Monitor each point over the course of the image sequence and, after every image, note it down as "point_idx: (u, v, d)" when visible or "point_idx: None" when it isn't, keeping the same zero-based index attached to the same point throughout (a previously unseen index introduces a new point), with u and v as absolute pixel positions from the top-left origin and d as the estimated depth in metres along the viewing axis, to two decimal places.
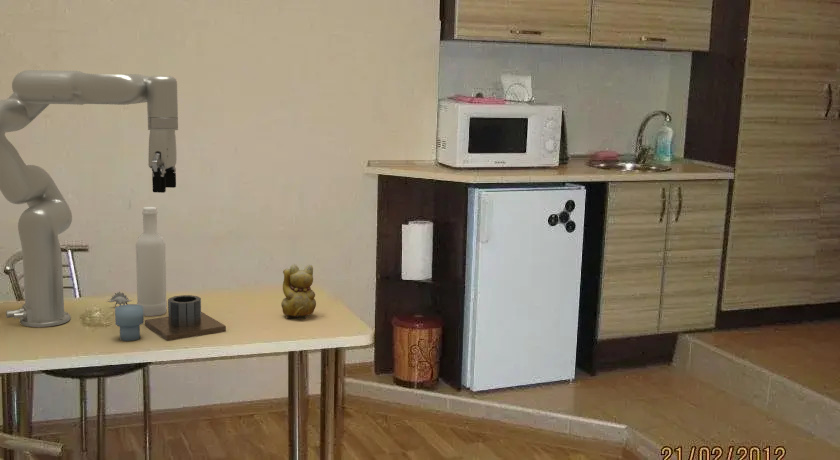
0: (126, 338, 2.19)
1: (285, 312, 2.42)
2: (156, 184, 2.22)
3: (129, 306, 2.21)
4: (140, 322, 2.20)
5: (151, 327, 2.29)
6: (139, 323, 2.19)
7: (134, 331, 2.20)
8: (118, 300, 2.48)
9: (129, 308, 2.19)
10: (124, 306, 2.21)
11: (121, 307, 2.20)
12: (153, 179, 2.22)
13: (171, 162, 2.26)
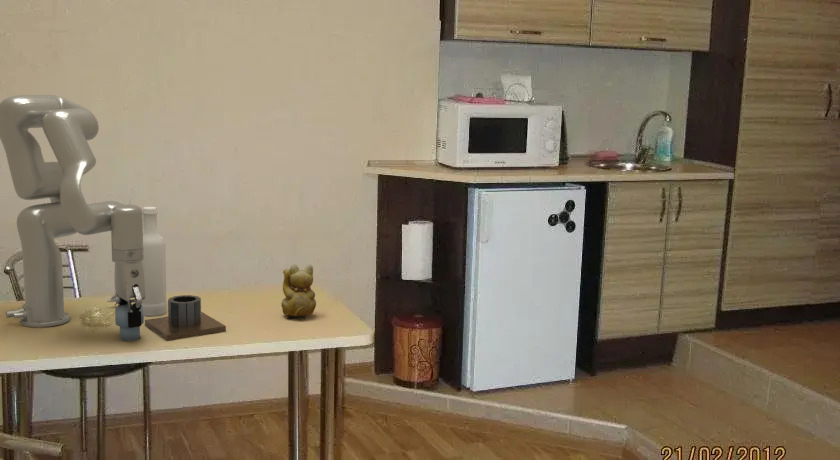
0: (126, 338, 2.19)
1: (285, 312, 2.42)
2: None
3: None
4: None
5: (151, 327, 2.29)
6: None
7: (134, 331, 2.20)
8: None
9: None
10: (124, 306, 2.21)
11: (121, 307, 2.20)
12: None
13: (119, 292, 2.19)
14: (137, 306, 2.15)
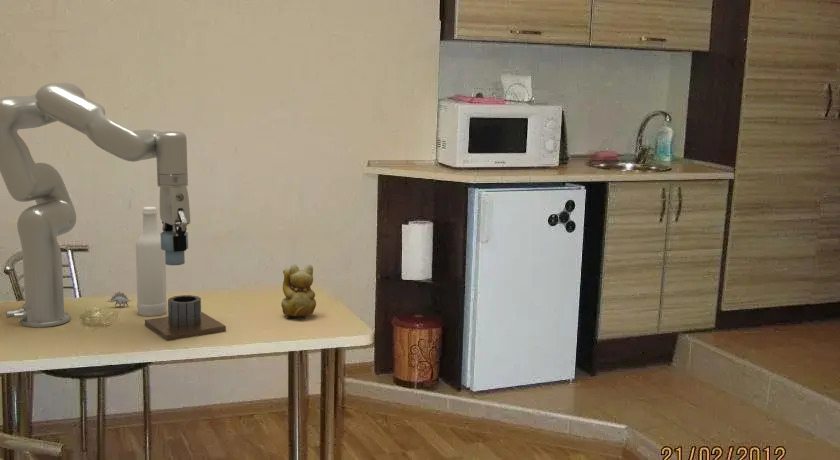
0: (171, 262, 2.24)
1: (285, 312, 2.42)
2: None
3: None
4: None
5: (151, 327, 2.29)
6: None
7: (179, 256, 2.24)
8: (118, 300, 2.48)
9: None
10: (169, 232, 2.26)
11: (166, 232, 2.25)
12: None
13: (164, 218, 2.24)
14: (182, 229, 2.19)
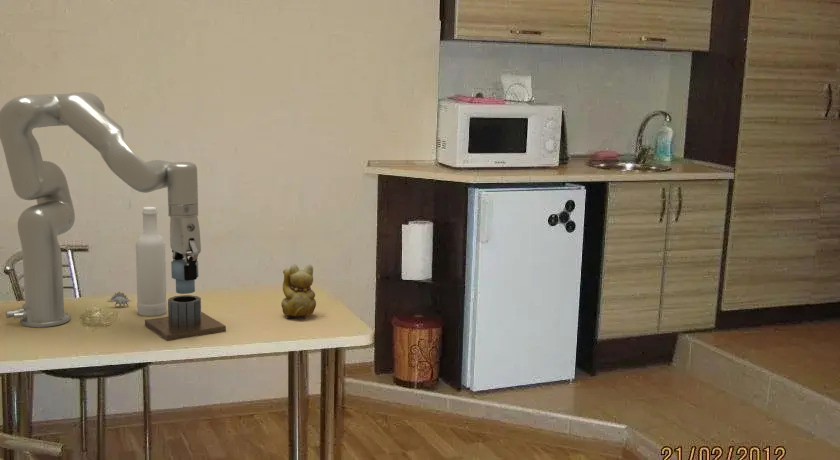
0: (182, 291, 2.27)
1: (285, 312, 2.42)
2: None
3: (184, 260, 2.29)
4: None
5: (151, 327, 2.29)
6: None
7: (190, 284, 2.28)
8: (118, 300, 2.48)
9: None
10: (179, 260, 2.29)
11: (177, 261, 2.28)
12: None
13: (175, 247, 2.27)
14: (193, 259, 2.22)
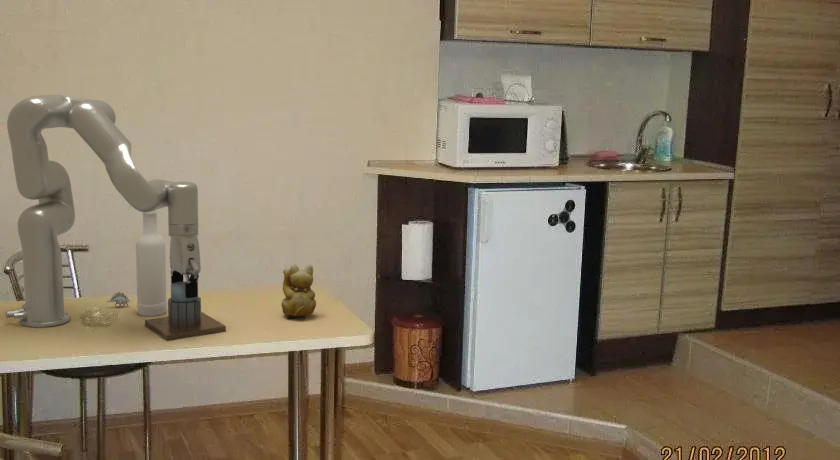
0: None
1: (285, 312, 2.42)
2: None
3: (184, 283, 2.30)
4: (195, 298, 2.29)
5: (151, 327, 2.29)
6: (194, 299, 2.28)
7: None
8: (118, 300, 2.48)
9: (184, 285, 2.28)
10: (179, 283, 2.30)
11: (176, 284, 2.29)
12: None
13: (174, 266, 2.28)
14: (195, 276, 2.22)
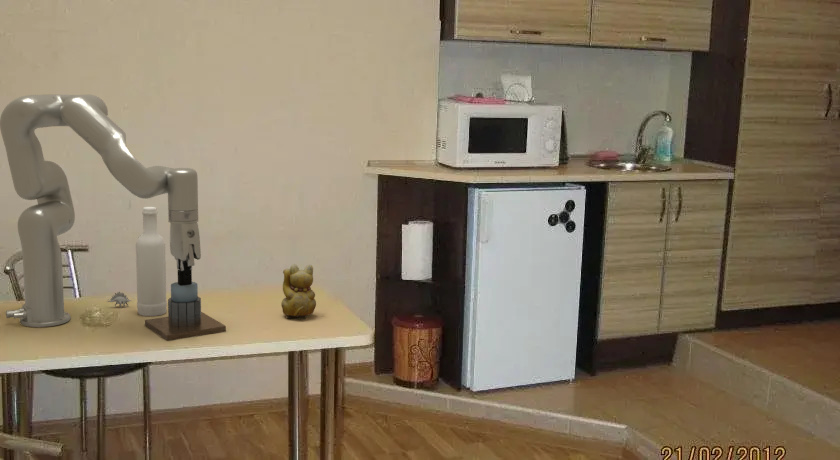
0: None
1: (285, 312, 2.42)
2: None
3: None
4: (195, 298, 2.29)
5: (151, 327, 2.29)
6: (194, 299, 2.28)
7: None
8: (118, 300, 2.48)
9: (184, 285, 2.28)
10: None
11: (176, 284, 2.29)
12: None
13: (174, 253, 2.27)
14: (188, 266, 2.26)
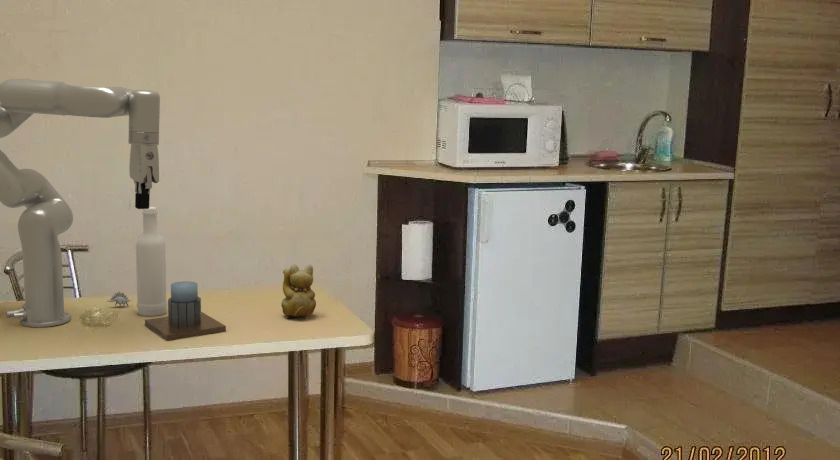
0: None
1: (285, 312, 2.42)
2: None
3: (184, 283, 2.30)
4: (195, 298, 2.29)
5: (151, 327, 2.29)
6: (194, 299, 2.28)
7: None
8: (118, 300, 2.48)
9: (184, 285, 2.28)
10: (179, 283, 2.30)
11: (176, 284, 2.29)
12: None
13: (133, 175, 2.26)
14: (146, 189, 2.24)
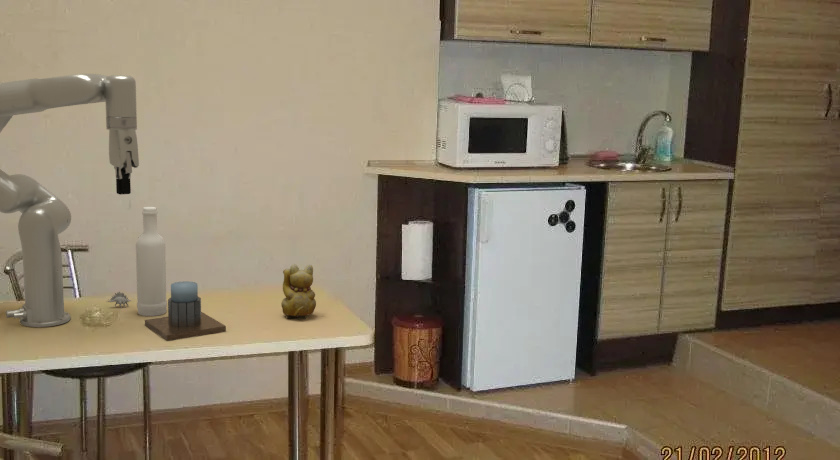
0: None
1: (285, 312, 2.42)
2: None
3: (184, 283, 2.30)
4: (195, 298, 2.29)
5: (151, 327, 2.29)
6: (194, 299, 2.28)
7: None
8: (118, 300, 2.48)
9: (184, 285, 2.28)
10: (179, 283, 2.30)
11: (176, 284, 2.29)
12: None
13: (113, 161, 2.27)
14: (126, 174, 2.25)
